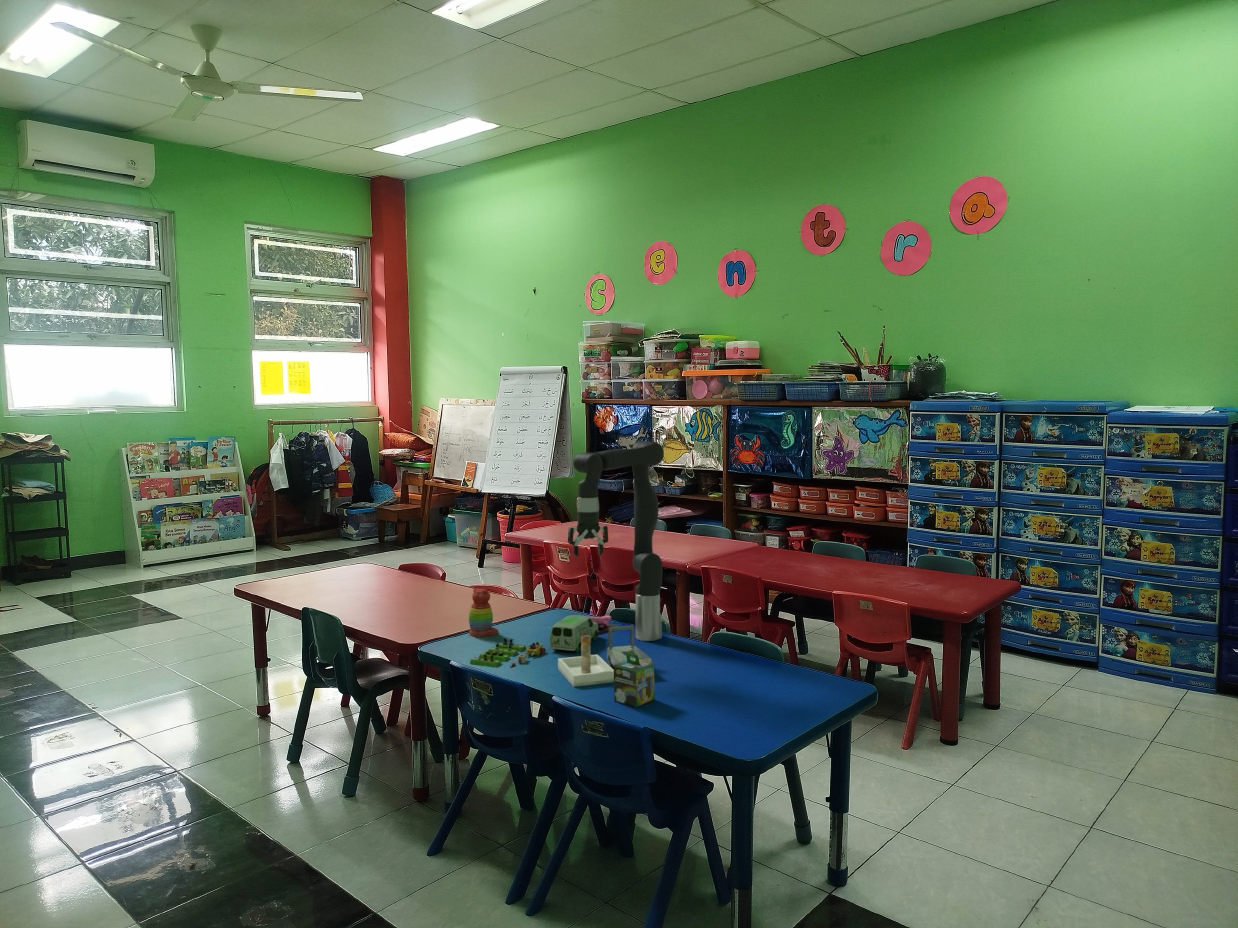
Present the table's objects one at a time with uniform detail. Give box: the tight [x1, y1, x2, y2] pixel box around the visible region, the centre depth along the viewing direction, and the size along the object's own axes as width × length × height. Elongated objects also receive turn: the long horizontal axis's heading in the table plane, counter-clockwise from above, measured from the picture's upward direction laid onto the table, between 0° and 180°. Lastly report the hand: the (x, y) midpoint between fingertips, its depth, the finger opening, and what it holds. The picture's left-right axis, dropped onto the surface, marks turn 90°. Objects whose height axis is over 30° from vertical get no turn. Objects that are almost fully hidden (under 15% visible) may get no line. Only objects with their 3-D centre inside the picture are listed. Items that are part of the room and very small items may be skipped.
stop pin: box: [580, 635, 592, 674], centre depth 274 cm, size 3×3×12 cm
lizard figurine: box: [579, 614, 621, 636], centre depth 330 cm, size 15×20×7 cm
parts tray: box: [557, 654, 614, 688], centre depth 274 cm, size 14×19×4 cm
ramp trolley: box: [606, 624, 652, 668], centre depth 279 cm, size 10×16×13 cm, turn 19°
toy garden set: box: [469, 637, 547, 668], centre depth 294 cm, size 23×19×5 cm
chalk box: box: [613, 652, 656, 708], centre depth 251 cm, size 9×9×15 cm
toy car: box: [548, 614, 599, 653], centre depth 310 cm, size 11×25×10 cm, turn 161°
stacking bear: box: [468, 587, 499, 638], centre depth 324 cm, size 11×10×18 cm
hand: (588, 555), depth 293 cm, fingers open, 8 cm apart
